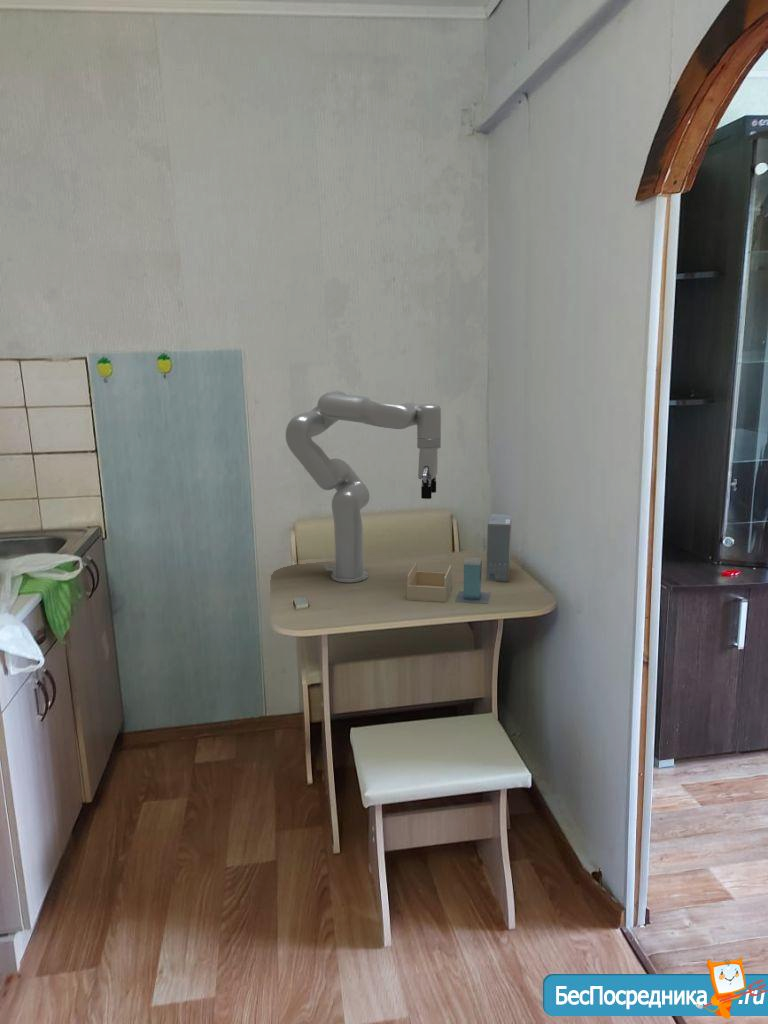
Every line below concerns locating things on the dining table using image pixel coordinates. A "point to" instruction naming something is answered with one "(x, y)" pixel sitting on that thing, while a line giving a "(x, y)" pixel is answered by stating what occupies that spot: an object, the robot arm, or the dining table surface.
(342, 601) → the dining table surface
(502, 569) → the hard drive box
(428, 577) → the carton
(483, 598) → the mat
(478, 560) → the tin
